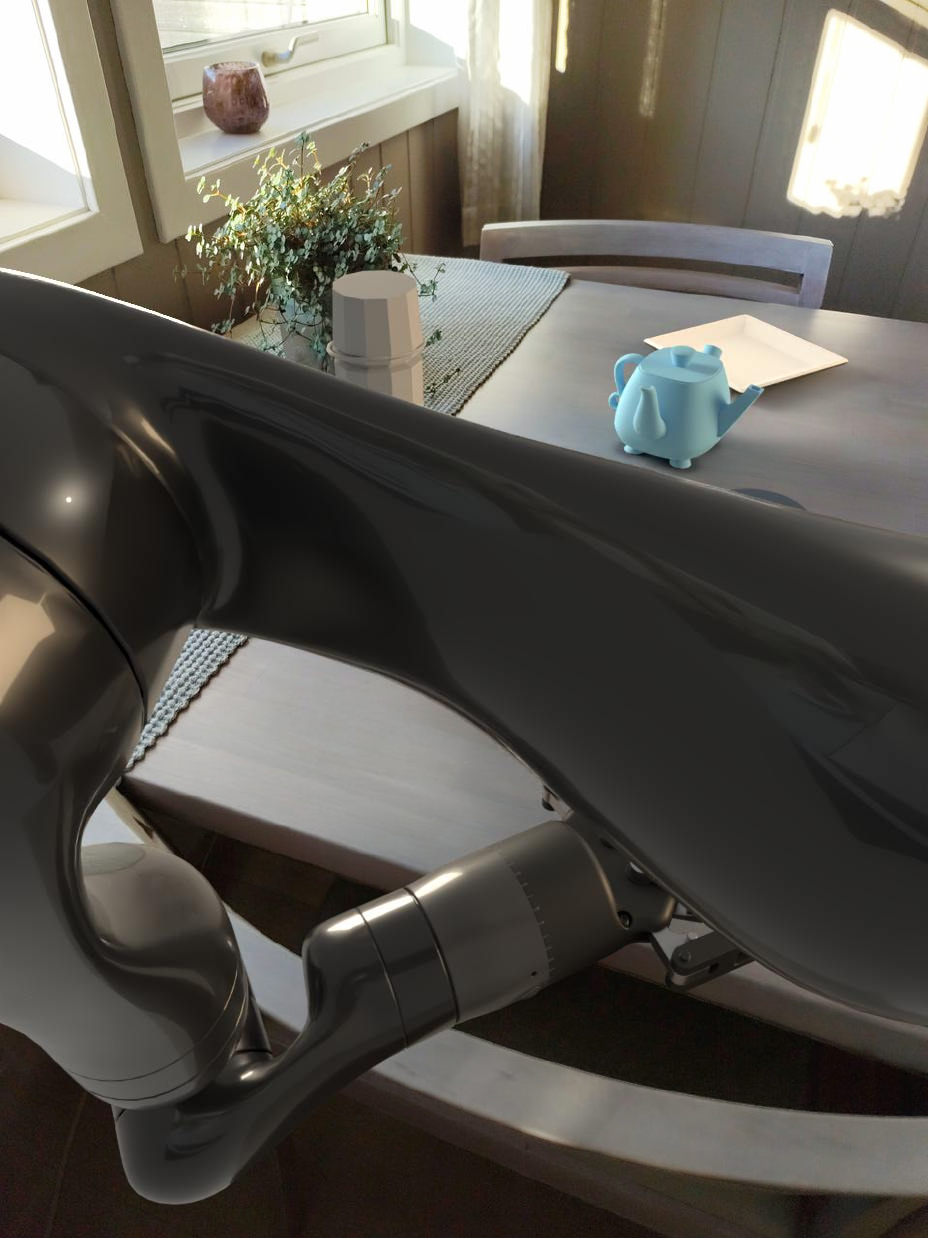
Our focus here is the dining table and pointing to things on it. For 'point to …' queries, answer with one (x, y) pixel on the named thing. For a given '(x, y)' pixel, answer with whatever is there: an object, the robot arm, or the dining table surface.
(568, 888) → the robot arm
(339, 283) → the water bottle
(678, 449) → the teapot
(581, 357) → the dining table surface
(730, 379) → the plate
